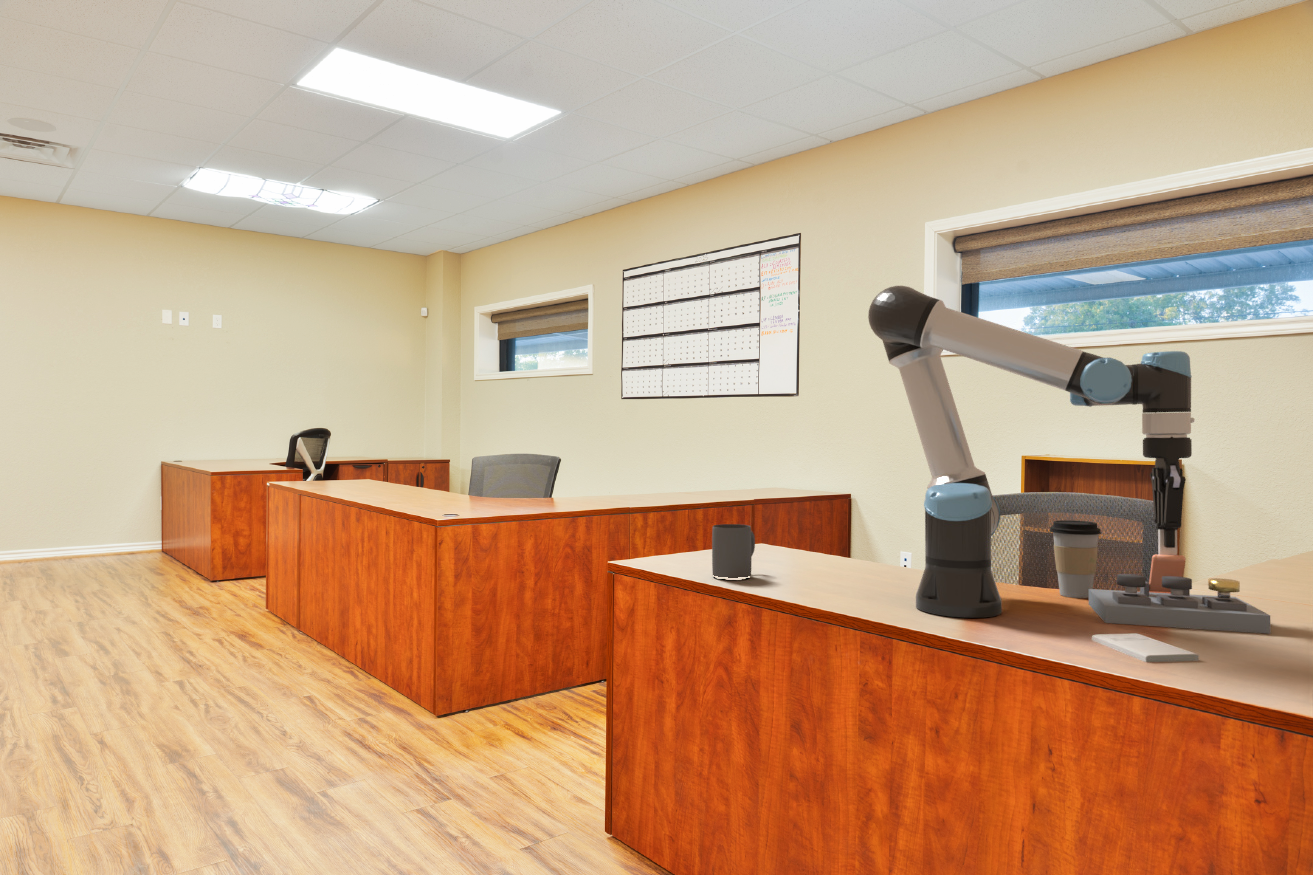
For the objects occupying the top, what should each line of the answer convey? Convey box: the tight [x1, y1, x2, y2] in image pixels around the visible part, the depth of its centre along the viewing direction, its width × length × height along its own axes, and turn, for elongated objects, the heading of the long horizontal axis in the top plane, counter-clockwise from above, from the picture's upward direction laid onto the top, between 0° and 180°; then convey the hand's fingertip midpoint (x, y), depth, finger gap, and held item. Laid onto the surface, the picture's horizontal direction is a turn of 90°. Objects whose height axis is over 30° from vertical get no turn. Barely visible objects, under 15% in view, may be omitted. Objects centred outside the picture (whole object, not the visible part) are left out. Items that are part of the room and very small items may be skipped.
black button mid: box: [1162, 576, 1193, 596], centre depth 138 cm, size 4×4×3 cm
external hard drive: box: [1091, 632, 1200, 663], centre depth 120 cm, size 2×8×12 cm
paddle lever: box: [1148, 553, 1187, 593], centre depth 144 cm, size 5×1×8 cm, turn 70°
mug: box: [711, 523, 756, 578], centre depth 185 cm, size 14×9×12 cm
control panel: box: [1088, 581, 1271, 635], centre depth 141 cm, size 24×16×5 cm, turn 70°
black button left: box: [1116, 573, 1147, 593], centre depth 141 cm, size 4×4×3 cm
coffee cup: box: [1049, 519, 1102, 599], centre depth 162 cm, size 9×9×15 cm
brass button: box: [1207, 577, 1241, 598], centre depth 136 cm, size 4×4×3 cm
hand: (1167, 564), depth 145 cm, fingers closed
